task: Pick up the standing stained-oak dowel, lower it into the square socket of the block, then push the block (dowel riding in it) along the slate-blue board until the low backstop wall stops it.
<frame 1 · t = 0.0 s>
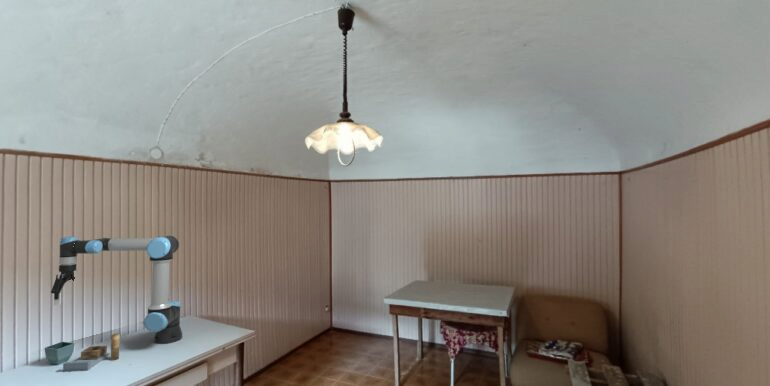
hand: (66, 301, 204), 28 cm above the table, fingers open, 13 cm apart
dowel: (114, 359, 194), on the table
board: (87, 362, 189), on the table
flower pot: (59, 362, 189), on the table
block: (94, 352, 194), point 3 cm above the table, slide at 0.0 cm
candlestick: (164, 325, 250), on the table
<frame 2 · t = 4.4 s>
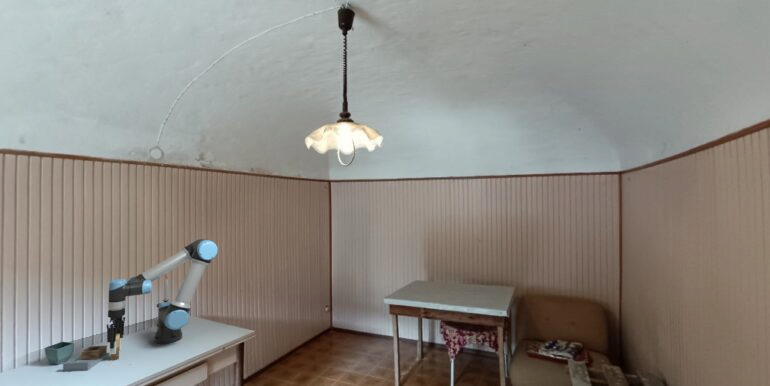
hand: (115, 352, 194), 4 cm above the table, fingers closed on dowel, 3 cm apart
dowel: (114, 358, 194), on the table, touching gripper
everything else where it was.
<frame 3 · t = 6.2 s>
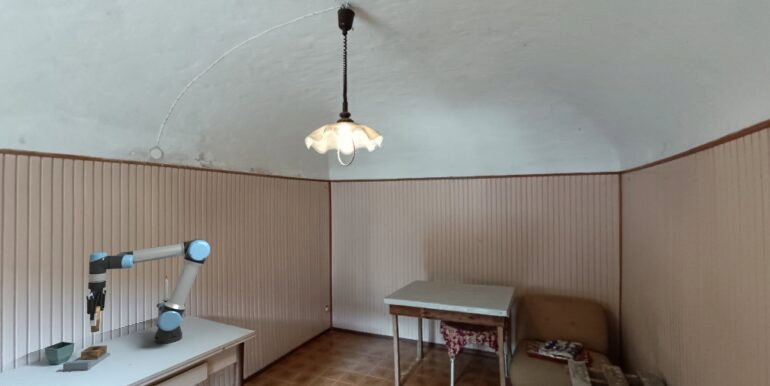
hand: (95, 324, 195), 18 cm above the table, fingers closed on dowel, 3 cm apart
dowel: (94, 331, 194), point 15 cm above the table, touching gripper
everything else where it was.
when the fingers open (7 cm above the table, at t = 8.5 s): dowel stays where it is, resting on block.
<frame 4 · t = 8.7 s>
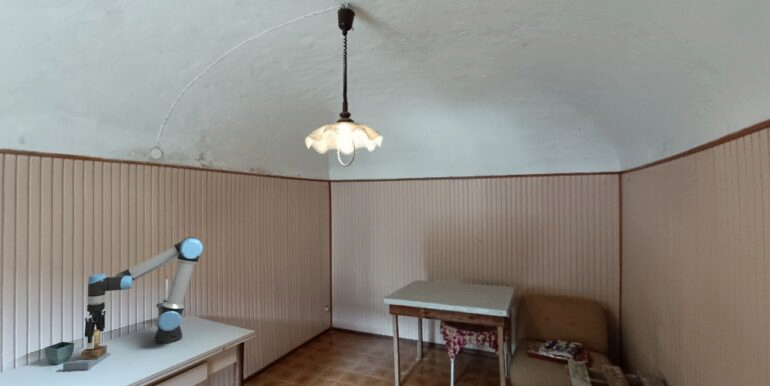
hand: (94, 346, 194), 7 cm above the table, fingers open, 6 cm apart
dowel: (93, 354, 194), point 2 cm above the table, touching block
block: (94, 352, 194), point 3 cm above the table, slide at 0.0 cm, touching dowel
everything else where it was.
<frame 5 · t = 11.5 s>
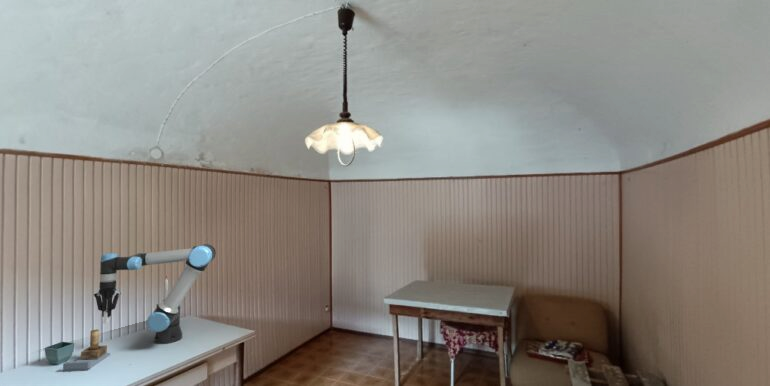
hand: (106, 322, 204), 16 cm above the table, fingers closed
nothing on the table moved.
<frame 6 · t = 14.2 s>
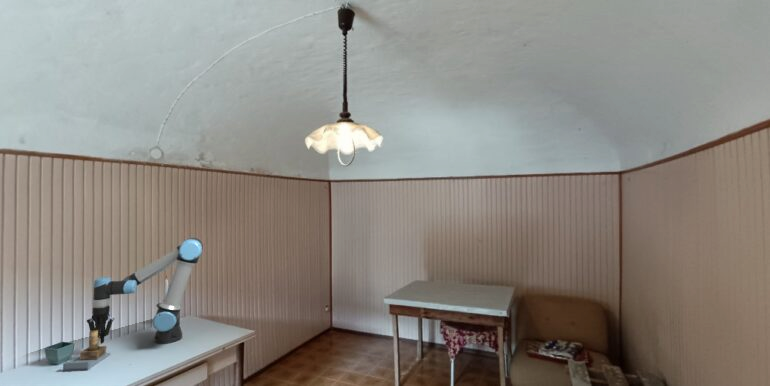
hand: (99, 349, 199), 3 cm above the table, fingers closed
block: (93, 352, 194), point 3 cm above the table, slide at 0.6 cm, touching dowel, gripper
everything else where it was.
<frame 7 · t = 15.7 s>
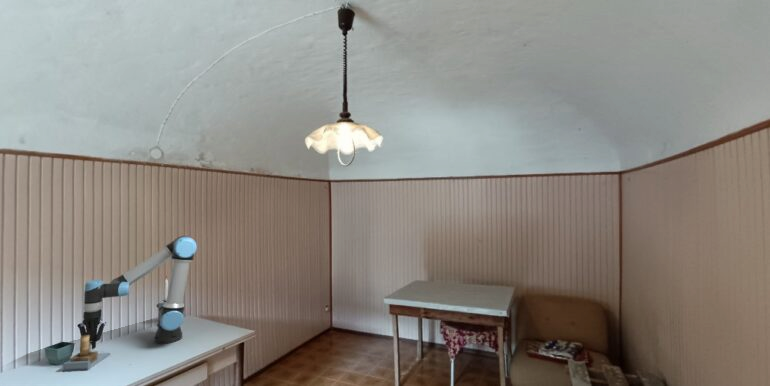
hand: (90, 354, 192), 3 cm above the table, fingers closed
dowel: (83, 361, 186), point 2 cm above the table, touching block
block: (84, 358, 186), point 4 cm above the table, slide at 8.1 cm, touching dowel, gripper
everything else where it was.
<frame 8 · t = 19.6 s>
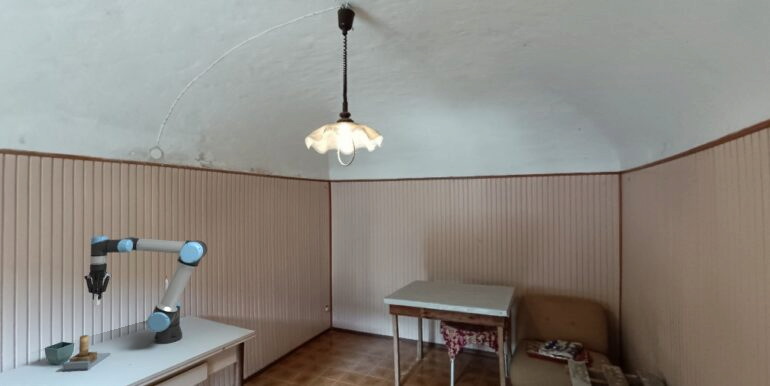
hand: (96, 305, 204), 26 cm above the table, fingers closed
block: (83, 359, 186), point 3 cm above the table, slide at 8.5 cm, touching dowel
everything else where it was.
at the end: block slide at 8.5 cm; dowel 0.5 cm from the target spot, point 2.1 cm above the table; dowel tilted 0° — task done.
